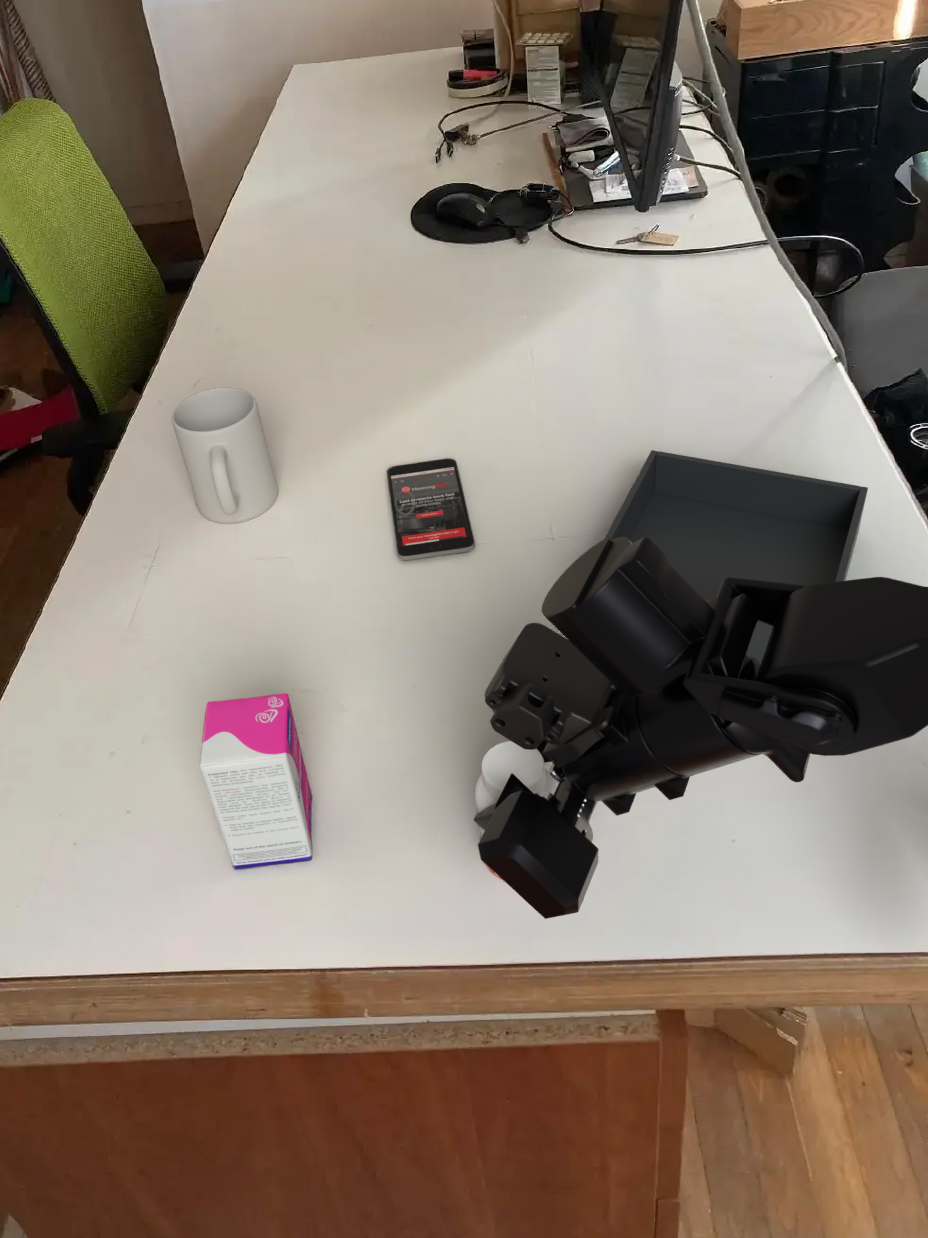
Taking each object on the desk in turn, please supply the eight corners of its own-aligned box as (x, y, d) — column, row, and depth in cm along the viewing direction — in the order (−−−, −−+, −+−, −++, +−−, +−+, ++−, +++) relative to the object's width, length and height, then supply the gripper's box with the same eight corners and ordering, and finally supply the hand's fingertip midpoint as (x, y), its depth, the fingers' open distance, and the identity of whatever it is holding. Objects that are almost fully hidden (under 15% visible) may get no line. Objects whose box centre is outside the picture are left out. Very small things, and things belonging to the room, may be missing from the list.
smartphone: (397, 557, 95) (386, 466, 106) (398, 563, 95) (386, 472, 107) (475, 546, 95) (455, 456, 106) (476, 552, 95) (455, 462, 107)
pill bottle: (534, 809, 73) (530, 718, 67) (576, 866, 69) (575, 775, 63) (467, 842, 71) (456, 752, 65) (505, 902, 67) (497, 813, 61)
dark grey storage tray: (858, 532, 92) (868, 487, 89) (819, 679, 79) (829, 632, 76) (649, 492, 100) (651, 449, 96) (584, 620, 87) (584, 575, 84)
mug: (198, 482, 109) (172, 394, 102) (277, 469, 109) (256, 380, 102) (195, 552, 100) (166, 460, 93) (281, 537, 100) (259, 444, 93)
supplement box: (316, 861, 71) (286, 756, 64) (232, 872, 71) (192, 768, 64) (316, 794, 76) (288, 689, 69) (237, 804, 76) (200, 700, 69)
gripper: (627, 519, 60) (469, 612, 71) (505, 753, 48) (337, 820, 59) (750, 647, 62) (577, 718, 73) (663, 904, 49) (471, 941, 61)
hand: (496, 788), depth 66 cm, fingers closed on pill bottle, 5 cm apart
